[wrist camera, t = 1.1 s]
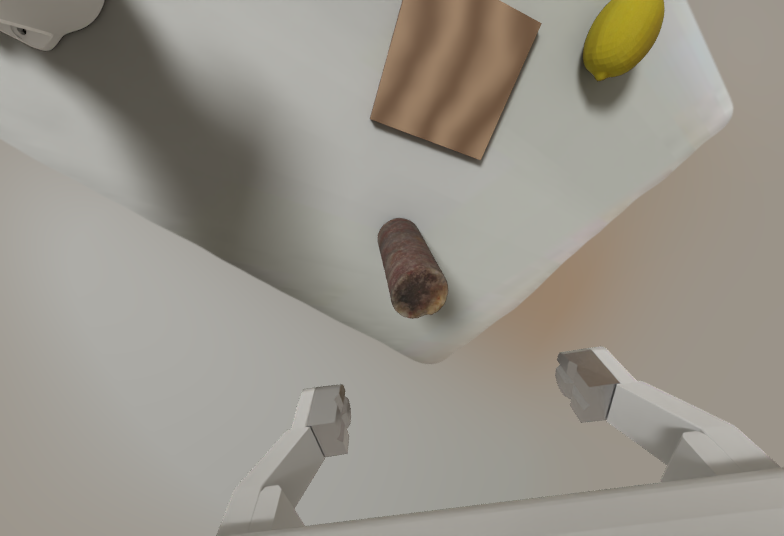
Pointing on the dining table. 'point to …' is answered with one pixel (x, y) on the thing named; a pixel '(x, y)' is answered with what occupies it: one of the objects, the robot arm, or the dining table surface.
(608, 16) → the lemon
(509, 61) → the walnut board
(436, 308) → the wooden log
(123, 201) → the dining table surface
